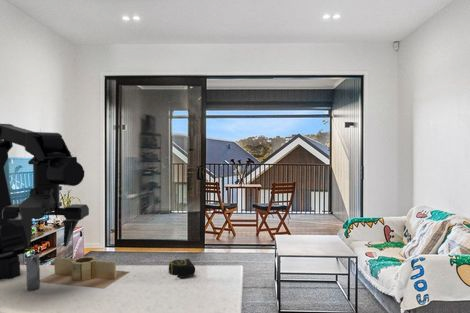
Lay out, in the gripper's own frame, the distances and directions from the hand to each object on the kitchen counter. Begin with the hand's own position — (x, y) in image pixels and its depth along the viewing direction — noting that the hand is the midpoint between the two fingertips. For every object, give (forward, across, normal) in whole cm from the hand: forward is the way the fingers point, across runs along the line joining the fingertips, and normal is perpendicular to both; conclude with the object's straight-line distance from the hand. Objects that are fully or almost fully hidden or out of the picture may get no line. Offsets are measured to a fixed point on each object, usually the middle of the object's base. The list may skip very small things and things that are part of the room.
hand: (47, 246), depth 89 cm
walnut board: (+11, +7, +7) cm, 15 cm away
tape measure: (+11, +33, +10) cm, 36 cm away
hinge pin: (+11, -3, -1) cm, 12 cm away
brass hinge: (+10, +7, +7) cm, 14 cm away
